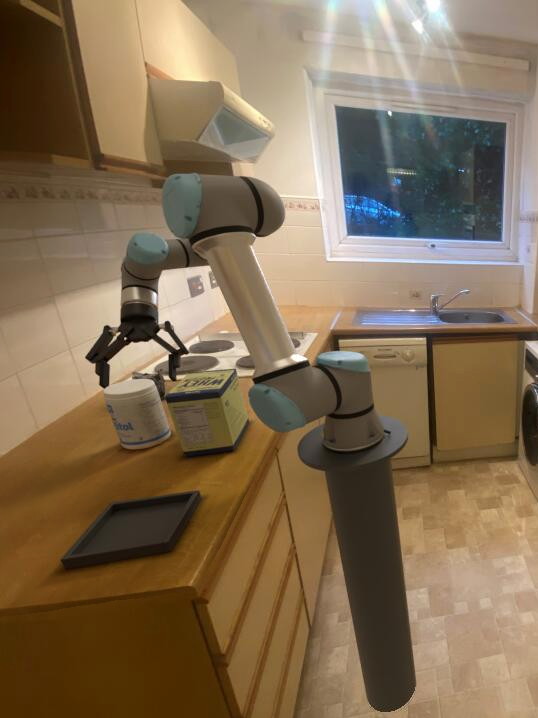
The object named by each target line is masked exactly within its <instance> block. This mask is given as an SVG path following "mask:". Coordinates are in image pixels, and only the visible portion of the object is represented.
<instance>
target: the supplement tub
mask: <svg viewBox="0 0 538 718" xmlns="http://www.w3.org/2000/svg"><path fill="white" fill-rule="evenodd" d="M102 394H103V398H104V402H105V405H106V408H107V410H108V413H109V415H110V418H111V421H112V424H113V426H114V429H115V432H116V435H117V437H118V440H119V443H120V444H121V446H122V447H123V448H124V449H126V450H144V449H148V448H152V447H155V446H158V445H160V444H162V443H164V442H166V441H167V440H168V439H169V438H171V434H172V432H171V429H170V425H169V422H168V419H167V415H166V412H165V409H164V405H163V403H162V399H160V396H159V393H158V390H157V387H156V386H155V383H154V381H153V380H150V379H134V380H132V379H128V380H123V381H119V382H115V383H113V384H109V386H108V387H106V388H105V389H104V388H103V390H102Z"/></svg>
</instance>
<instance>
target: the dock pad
mask: <svg viewBox="0 0 538 718" xmlns="http://www.w3.org/2000/svg"><path fill="white" fill-rule="evenodd" d="M202 498H203V497H202V495H201V491H200V490H199V489H197V490H191V491H184V492H183V491H182V492H176V493H169V494H161V495H155V496H147V497H141V498H134V499H125V500H119V501H113V502H109V503H108V504H107V506H106V507H105V508H104V509H103V510H102V511H101V512H100V514H98V516H97V517H96V518H95V519H94V520H93V521H92V522H91V524H90V525H89V526H88V527H87V528H86V530H85V531H84V532H83V533H82V534H81V535H80V537H78V539H77V540H76V541H75V542H74V543H73V545H71V547H70V548H69V549H68V550H67V552H66V553H65V554H64V555H63V556H62V557H61V558H60V562H61V564H62V566H63V567H64V570H70V569H77V568H82V567H88V566H95V565H100V564H105V563H106V564H107V563H111V562H117V561H123V560H129V559H135V558H140V557H141V558H142V557H146V556H147V557H148V556H152V555H158V554H164V553H170V552H172V551H173V549H174V548H175V546H176V544H177V543H178V541H179V539H180V538H181V536H182V534H183V532H184V530H185V528H186V527H187V525H188V524H189V522H190V520H191V518H192V517H193V515H194V513H195V512H196V510H197V508H198V506H199V504H200V503H201V501H202Z"/></svg>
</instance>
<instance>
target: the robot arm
mask: <svg viewBox="0 0 538 718" xmlns="http://www.w3.org/2000/svg"><path fill="white" fill-rule="evenodd" d="M161 206H162V213H163V216H164V220H165V223H166V225H167V227H168V229H169V231H170V232H171V233H172V234H173V236H174V237H176V238H173V239H172V238H170V239H169V238H168V239H164V238H163V237H161V236H160V235H158V234H156V233H151V232H148V231H141V232H137V233H135V234H133V235H131V238H130V239H129V240H128V243H127V246H126V251H125V256H124V257H123V258H122V260H121V261H122V262H121V265H120V266H121V267H120V272H121V276H120V277H121V281H120V282H121V283H120V284H121V285H120V286H121V290H120V314H119V319H120V320H119V322H120V324H119V326H110V325H109V324H106V325H104V326H103V329H102V333H101V334H100V336H99V337H98V338H97V340H96V341H95V342H94V344H93V346H92V347H91V348H90V349H89V350H88V352H87V353H86V355H85V357H84V359H85V360H86V361H88V362H89V363H90V364H93V365H95V366H94V373H95V375H96V376H98V379H99V380H98V385H99V386H100V387H101V388H102V389H103V390H104V389H105V388H106V387H108V386H110V377H111V376H110V375H111V374H110V373H111V365H110V364H109V363H108V362H110V361H111V360H112V359H113V358H114V357H115V356H117V354H118V353H120V352H121V351H122V350H123V349H124V348H125V347H127V346H129V345H130V344H131V343H133V344H136V343H137V344H138V343H149V342H150V341H151V340H153V341H154V342H155V343H156V344H158V345H159V346H161V347H162V348H163V349H165V350H166V351H167V352H169V353H168V354H167V355H168V357H167V358H168V361H167V362H168V364H167V365H168V378H169V379H170V380H171V381H172V383H173V382H177V369H180V368H181V366H182V363H181V362H182V359H181V357H182V356H185V355H186V356H187V355H190V351H189V349H188V348H187V347H186V345H185V343H183V341H182V340H181V338H180V337H179V336H178V335H177V333H176V332H175V328H174V325H173V324H172V323H171V321H170V320H165V321H164V323H159V321H160V320H159V318H160V317H159V281H160V278H161V275H162V273H163V271H170V270H179V269H187V268H198V267H208V266H209V268H210V269H211V272H212V274H213V277H214V278H215V282H216V283H217V285H218V288H219V290H220V293H221V294H222V296H223V298H224V301H225V303H226V305H227V307H228V310H229V312H230V314H231V316H232V318H233V321H234V323H235V325H236V327H237V329H238V332H239V334H240V336H241V338H242V340H243V343H244V345H245V347H246V349H247V351H248V353H249V356H250V357H251V360H252V363H253V365H254V371H253V373H252V375H251V377H250V378H251V380H252V382H253V385H252V386H251V387H250V388H249V390H248V393H247V397H248V402H249V405H250V407H251V409H252V411H253V412H254V414H255V415H256V417H257V418H258V419H259V420H260V421H261V423H262V424H263V425H264V426H266V427H267V428H269V429H270V430H272V431H274V432H276V433H280V434H286V433H289V432H292V431H295V430H297V429H301V428H304V427H306V425H308V424H310V423H312V422H315V421H317V420H319V419H321V418H324V419H325V420H324V423H323V424H324V428H323V430H322V431H321V435H322V442H323V446H324V447H325V449H327V450H328V451H331V452H334V453H341V454H349V453H357V452H361V451H365V450H368V449H370V448H372V447H374V446H376V445H378V444H379V443H380V442H381V441H382V440H383V439H384V437H385V433H388V434H390V433H391V431H388V430H385V429H384V426H383V424H382V422H381V420H380V418H379V416H378V415H379V414H378V412H377V410H376V408H375V401H374V395H373V385H372V376H371V371H372V370H371V369H370V364H369V359H368V358H367V356H366V355H364V354H362V353H359V352H356V351H346V350H335V351H334V350H333V351H327V352H322V353H320V354H317V356H315V363H316V364H315V365H313V366H312V365H311V362H310V360H309V358H307V357H304V356H302V355H300V354H299V353H298V351H297V349H296V347H295V344H294V342H293V340H292V338H291V335H290V333H289V330H288V328H287V326H286V323H285V321H284V318H283V316H282V313H281V312H280V309H279V307H278V305H277V303H276V300H275V297H274V295H273V293H272V291H271V288H270V286H269V284H268V282H267V279H266V277H265V275H264V272H263V269H262V267H261V265H260V263H259V261H258V259H257V256H256V254H255V251H254V249H253V245H254V243H255V241H256V239H257V238H266V237H268V236H270V235H272V234H274V233H275V232H277V231H278V230H280V228H281V227H282V226H283V225H284V222H285V219H286V207H285V203H284V201H283V199H282V197H281V196H280V194H279V193H278V192H277V190H276V189H274V188H273V187H272V186H271V185H270V184H268V183H267V182H265V181H263V180H261V179H258V178H256V177H252V176H243V175H240V176H238V175H222V174H206V173H205V174H203V173H202V174H201V173H197V172H190V173H173V174H171V175H170V176H168V177H167V178H166V179H165V181H164V183H163V185H162V190H161ZM162 330H163V331H164V332H165V333H167V334H168V335H169V336H170V338H171V339H172V340H173V342H174V343H175V344H176V345H177V347H178V348H175V347H174V346H173V345H172V344H170V343H169V342H167V341H166V340H165V339H163V338H162V337H161V336H159V335H158V333H159V332H160V331H162ZM118 333H119V334H118ZM117 334H118V335H117ZM114 337H116V338H115V339H114ZM113 339H114V340H113Z"/></svg>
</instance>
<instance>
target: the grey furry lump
mask: <svg viewBox="0 0 538 718" xmlns="http://www.w3.org/2000/svg"><path fill="white" fill-rule="evenodd" d="M165 372H166V369H165V368H160V369H159V370H157V373H148V372H145V373H142V372H136V371H132V372H131V374H132V376H131V380H134V379H150V380H153V381H154V383H155V386H156V387H157V390H158V393H159V396H160V399H161V400H165V396H166V386H165V382H166V380H165V377H164V375H163V374H164V373H165Z"/></svg>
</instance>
